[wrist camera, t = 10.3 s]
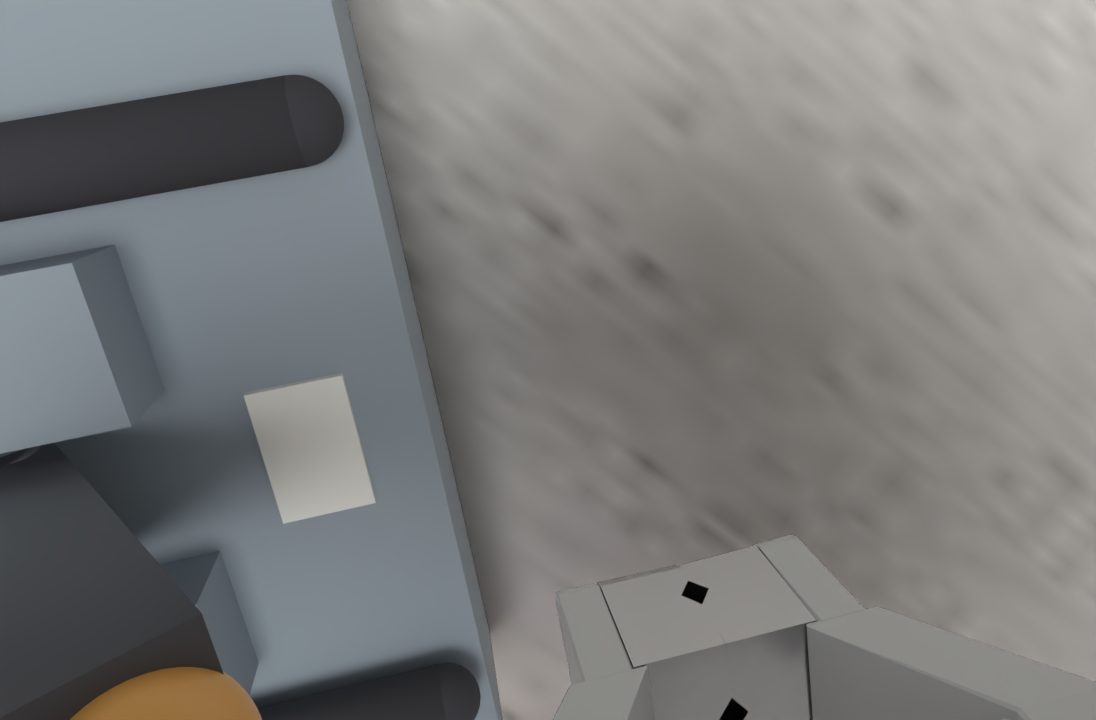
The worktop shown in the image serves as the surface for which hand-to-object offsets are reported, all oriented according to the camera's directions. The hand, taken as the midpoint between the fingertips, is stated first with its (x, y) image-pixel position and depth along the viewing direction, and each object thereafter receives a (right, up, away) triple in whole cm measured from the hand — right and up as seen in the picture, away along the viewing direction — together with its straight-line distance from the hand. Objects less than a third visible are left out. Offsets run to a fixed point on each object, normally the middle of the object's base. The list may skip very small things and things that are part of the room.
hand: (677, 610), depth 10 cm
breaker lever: (-12, 0, +6) cm, 13 cm away
